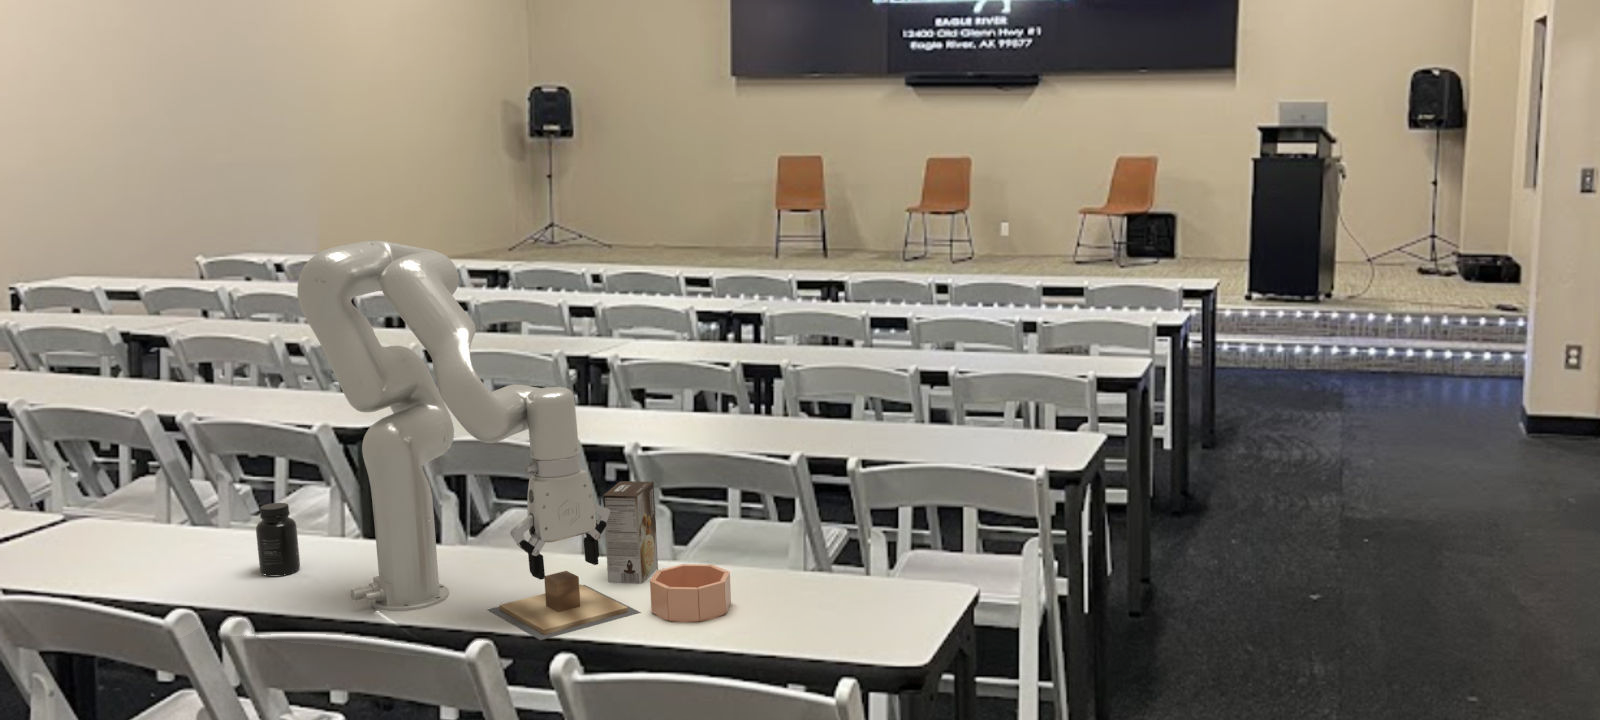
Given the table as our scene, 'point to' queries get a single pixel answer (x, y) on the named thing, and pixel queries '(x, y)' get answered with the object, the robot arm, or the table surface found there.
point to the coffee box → (631, 532)
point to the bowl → (690, 593)
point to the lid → (562, 605)
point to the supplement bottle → (277, 540)
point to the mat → (542, 636)
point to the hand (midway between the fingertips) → (565, 570)
